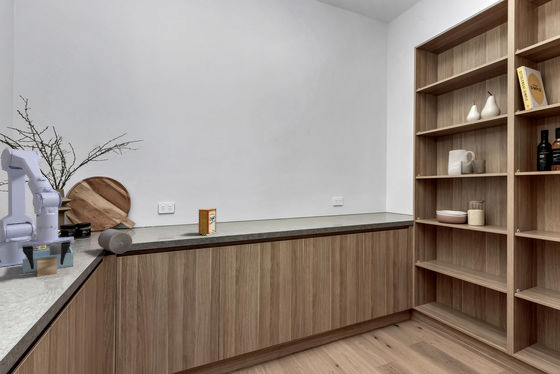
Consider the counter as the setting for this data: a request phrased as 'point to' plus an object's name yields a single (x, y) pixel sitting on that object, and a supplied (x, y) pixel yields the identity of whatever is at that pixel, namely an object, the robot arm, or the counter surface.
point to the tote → (46, 254)
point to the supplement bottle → (36, 246)
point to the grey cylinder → (55, 249)
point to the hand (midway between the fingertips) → (47, 266)
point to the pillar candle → (115, 241)
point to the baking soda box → (207, 220)
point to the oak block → (46, 266)
